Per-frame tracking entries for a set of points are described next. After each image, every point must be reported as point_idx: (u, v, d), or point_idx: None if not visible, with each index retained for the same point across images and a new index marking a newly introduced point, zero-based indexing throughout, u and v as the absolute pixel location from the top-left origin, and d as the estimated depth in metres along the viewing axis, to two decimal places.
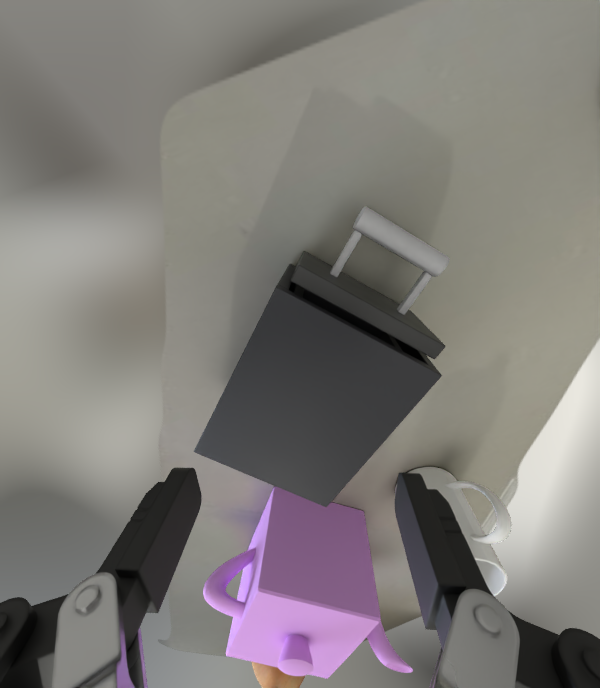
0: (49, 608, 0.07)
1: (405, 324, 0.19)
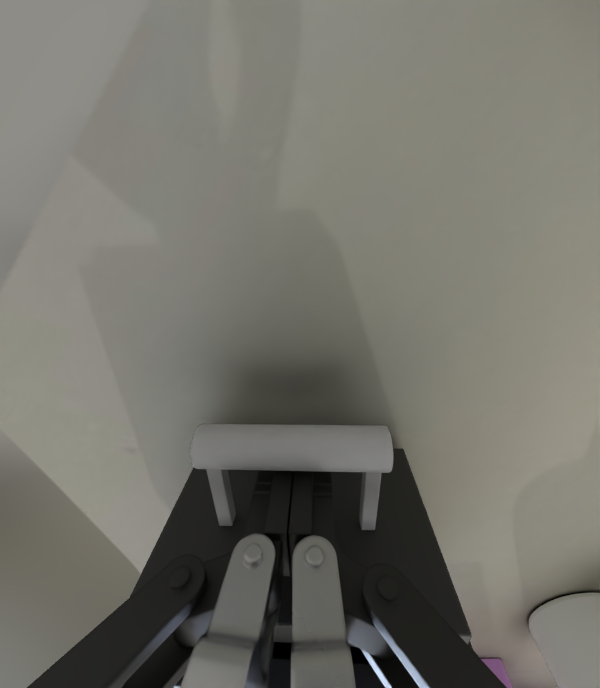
0: (211, 566, 0.08)
1: None
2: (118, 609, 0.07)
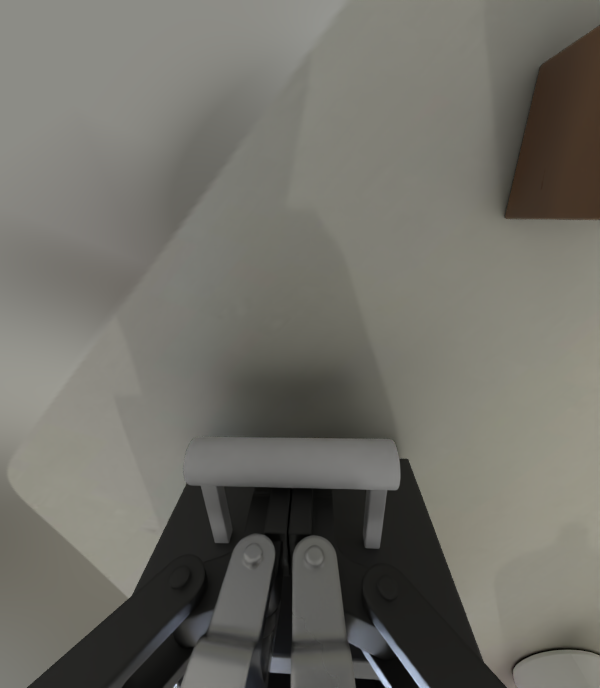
0: (212, 566, 0.08)
1: None
2: (118, 609, 0.07)
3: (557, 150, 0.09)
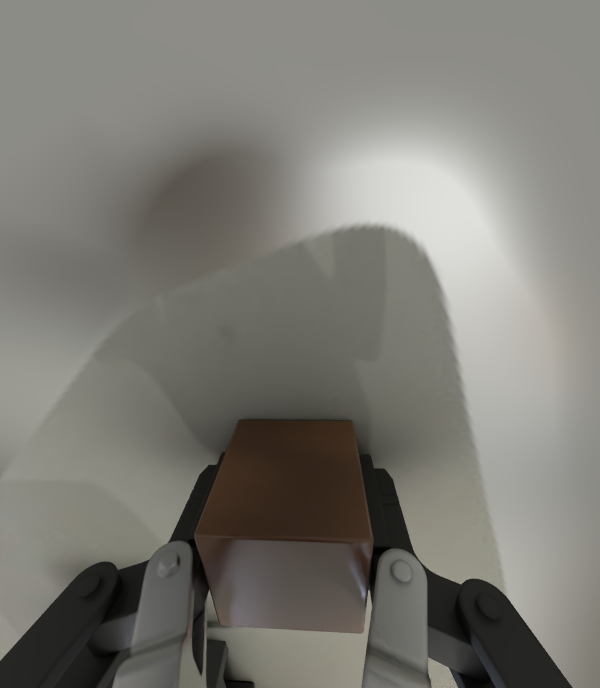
0: (130, 573, 0.08)
1: None
2: (16, 644, 0.06)
3: None
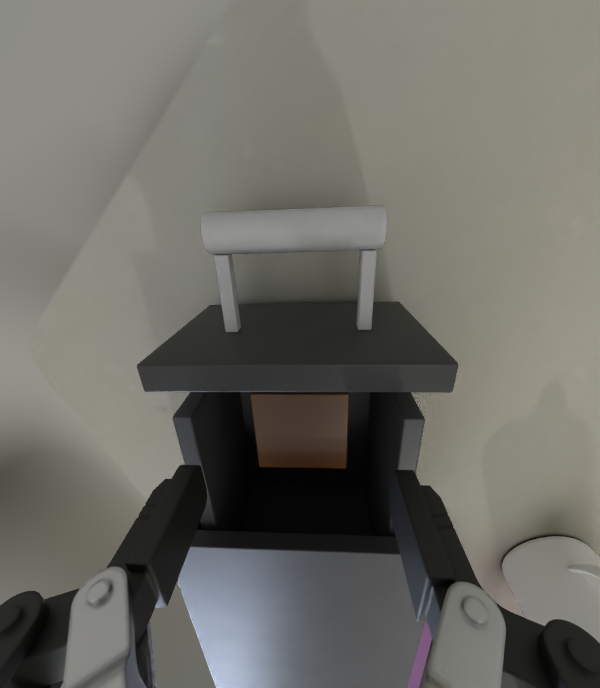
0: (61, 602, 0.07)
1: (359, 364, 0.10)
2: None
3: None
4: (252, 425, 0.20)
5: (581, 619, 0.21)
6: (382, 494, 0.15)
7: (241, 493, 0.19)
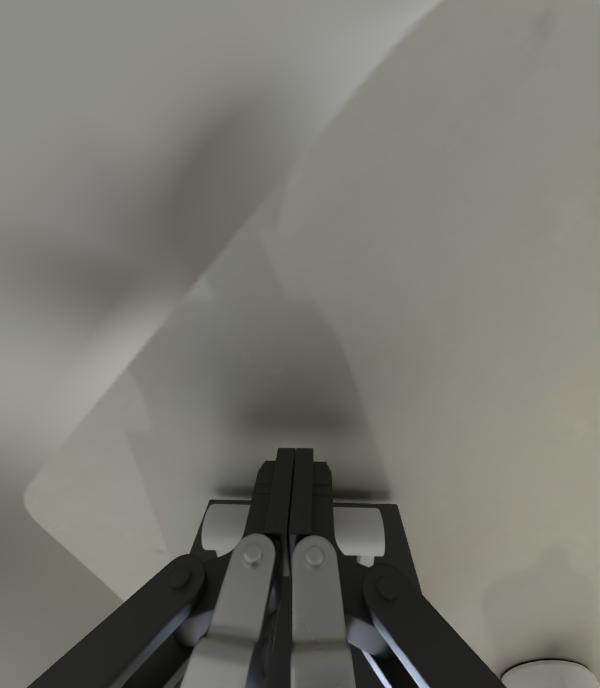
0: (212, 566, 0.08)
1: None
2: (118, 609, 0.07)
3: None
4: None
5: None
6: None
7: None
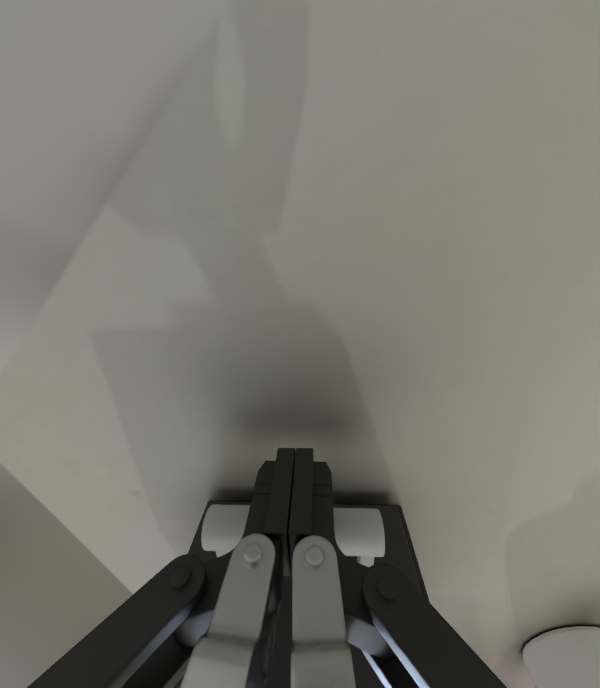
0: (212, 566, 0.08)
1: None
2: (118, 609, 0.07)
3: None
4: None
5: None
6: None
7: None
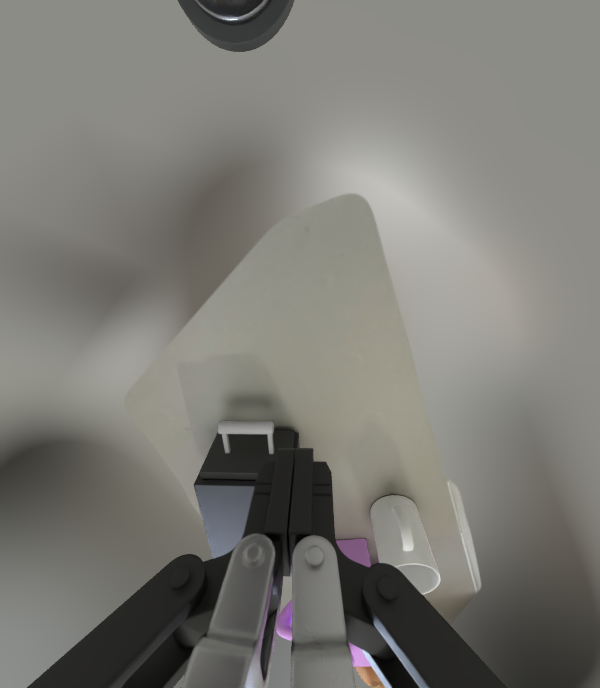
0: (212, 566, 0.08)
1: None
2: (118, 609, 0.07)
3: None
4: None
5: (388, 530, 0.43)
6: None
7: None
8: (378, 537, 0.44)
